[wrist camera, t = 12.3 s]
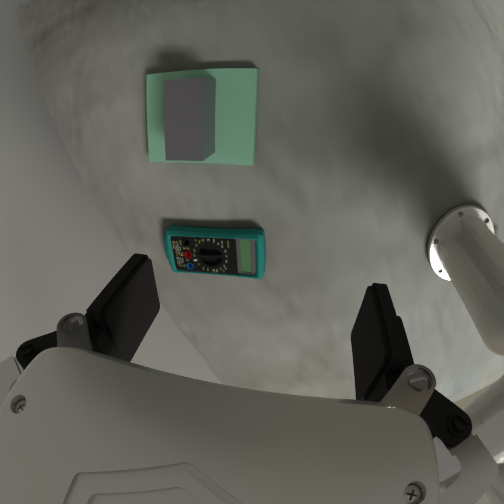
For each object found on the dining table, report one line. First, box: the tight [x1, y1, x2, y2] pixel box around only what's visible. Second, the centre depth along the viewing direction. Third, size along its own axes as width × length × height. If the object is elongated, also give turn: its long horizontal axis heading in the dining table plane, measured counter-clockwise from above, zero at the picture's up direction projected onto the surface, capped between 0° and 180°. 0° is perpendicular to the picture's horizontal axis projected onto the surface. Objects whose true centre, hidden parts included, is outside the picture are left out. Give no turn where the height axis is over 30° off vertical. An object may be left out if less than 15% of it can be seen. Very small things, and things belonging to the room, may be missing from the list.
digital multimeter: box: [165, 225, 266, 279], centre depth 42 cm, size 7×15×3 cm, turn 92°
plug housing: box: [164, 78, 216, 161], centre depth 30 cm, size 4×9×5 cm, turn 178°
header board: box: [147, 68, 259, 166], centre depth 31 cm, size 14×12×4 cm
